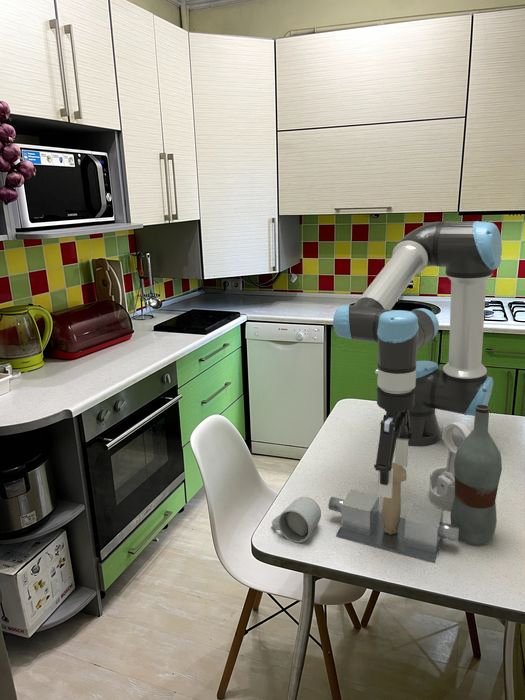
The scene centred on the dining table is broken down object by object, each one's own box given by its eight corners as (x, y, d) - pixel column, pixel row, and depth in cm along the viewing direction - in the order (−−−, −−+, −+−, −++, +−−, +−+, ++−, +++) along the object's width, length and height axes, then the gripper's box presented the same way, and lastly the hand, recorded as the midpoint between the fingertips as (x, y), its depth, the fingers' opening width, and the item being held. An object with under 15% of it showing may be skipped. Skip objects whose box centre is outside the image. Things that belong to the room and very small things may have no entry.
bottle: (448, 543, 113) (458, 412, 105) (449, 519, 121) (457, 396, 113) (496, 551, 110) (510, 417, 102) (493, 525, 118) (505, 400, 110)
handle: (393, 520, 120) (396, 461, 116) (407, 537, 114) (411, 475, 110) (374, 524, 119) (376, 464, 115) (387, 541, 113) (390, 478, 109)
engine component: (451, 485, 135) (420, 494, 131) (457, 411, 130) (424, 418, 126) (484, 506, 126) (451, 517, 122) (491, 427, 120) (457, 436, 116)
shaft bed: (339, 505, 128) (339, 480, 126) (461, 534, 116) (463, 508, 114) (321, 532, 118) (321, 506, 116) (452, 568, 105) (455, 539, 104)
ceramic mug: (323, 526, 120) (322, 496, 118) (310, 546, 113) (309, 515, 111) (281, 515, 125) (279, 486, 123) (265, 535, 118) (264, 504, 116)
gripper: (392, 366, 120) (390, 451, 126) (359, 407, 99) (358, 506, 105) (427, 370, 116) (423, 456, 122) (399, 413, 95) (396, 515, 101)
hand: (393, 480), depth 114 cm, fingers open, 13 cm apart
